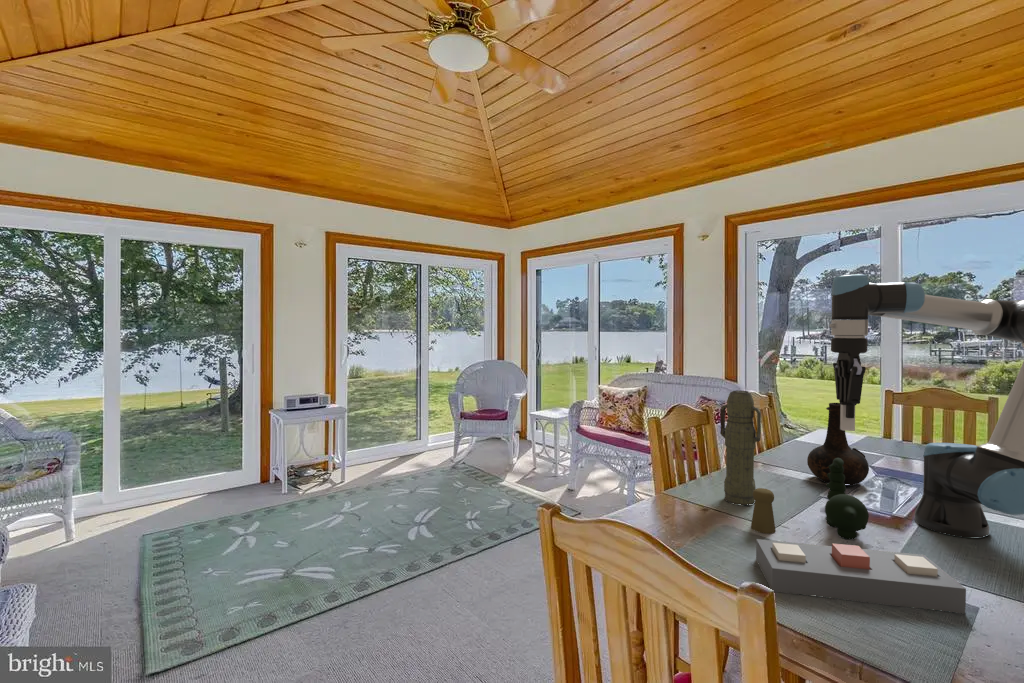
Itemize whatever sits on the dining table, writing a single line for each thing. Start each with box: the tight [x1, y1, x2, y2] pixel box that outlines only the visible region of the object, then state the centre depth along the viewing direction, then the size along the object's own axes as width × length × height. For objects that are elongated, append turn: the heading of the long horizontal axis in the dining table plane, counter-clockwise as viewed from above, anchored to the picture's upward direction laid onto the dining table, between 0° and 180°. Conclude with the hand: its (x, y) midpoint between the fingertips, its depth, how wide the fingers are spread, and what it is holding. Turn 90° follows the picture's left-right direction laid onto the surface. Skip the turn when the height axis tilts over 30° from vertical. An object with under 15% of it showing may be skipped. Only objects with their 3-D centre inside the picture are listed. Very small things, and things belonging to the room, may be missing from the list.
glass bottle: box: [807, 402, 870, 486], centre depth 169 cm, size 18×18×28 cm
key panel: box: [755, 538, 967, 615], centre depth 104 cm, size 34×14×5 cm, turn 76°
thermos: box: [719, 390, 762, 505], centre depth 152 cm, size 9×12×35 cm
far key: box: [772, 543, 806, 563], centre depth 107 cm, size 5×5×4 cm
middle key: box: [831, 543, 870, 570], centre depth 104 cm, size 5×5×4 cm
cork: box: [750, 487, 777, 535], centre depth 132 cm, size 6×6×11 cm
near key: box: [894, 554, 938, 576], centre depth 101 cm, size 5×5×4 cm
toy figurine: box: [824, 458, 870, 541], centre depth 131 cm, size 9×19×25 cm
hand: (847, 429), depth 122 cm, fingers closed
